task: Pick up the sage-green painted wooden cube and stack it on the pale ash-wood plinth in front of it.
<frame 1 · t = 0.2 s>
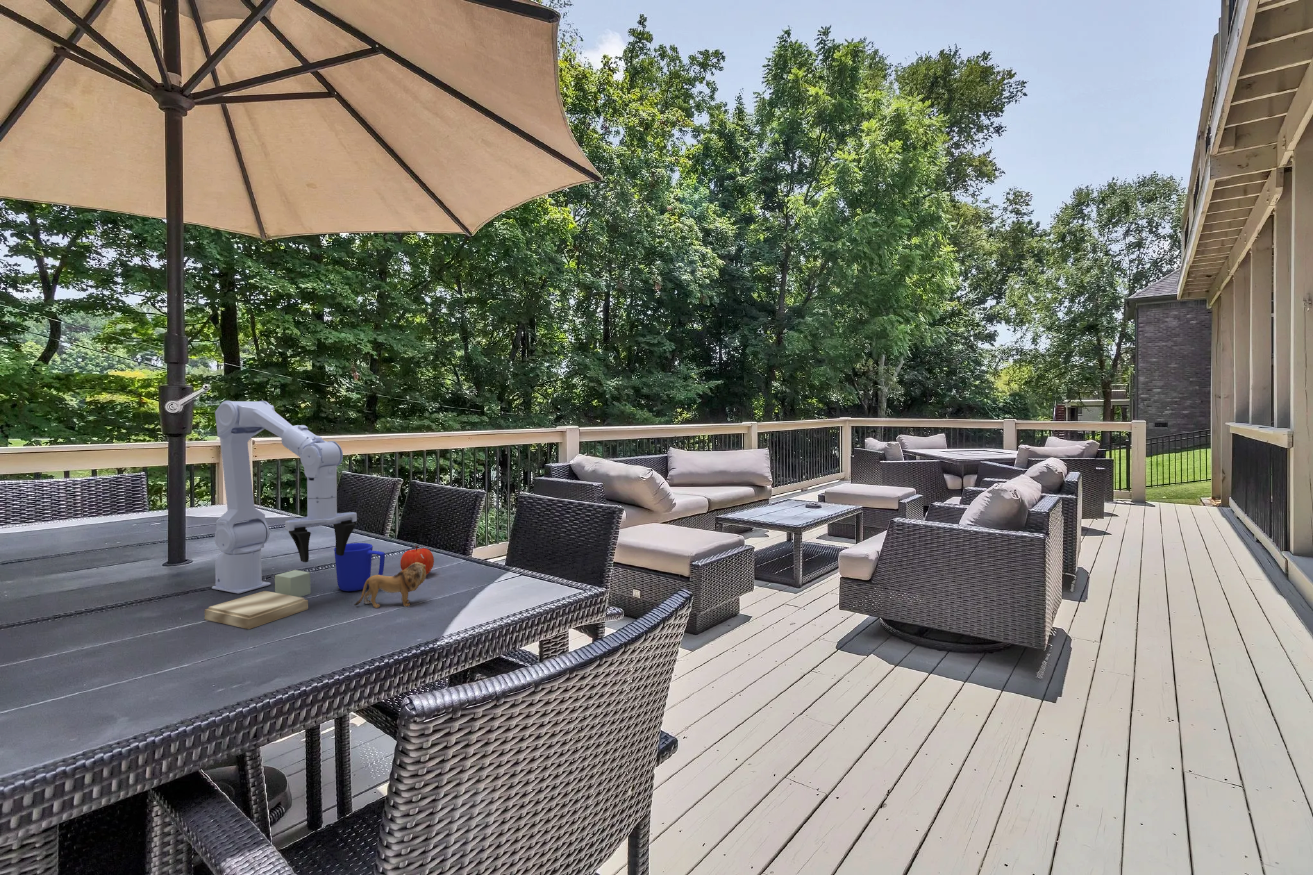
hand: (322, 558, 139), 10 cm above the table, tool pointing down, fingers open, 7 cm apart
sage cube: (292, 595, 144), on the table
lion figurine: (393, 604, 140), on the table
mug: (361, 589, 150), on the table
apple: (417, 576, 161), on the table
plinth: (257, 614, 131), on the table
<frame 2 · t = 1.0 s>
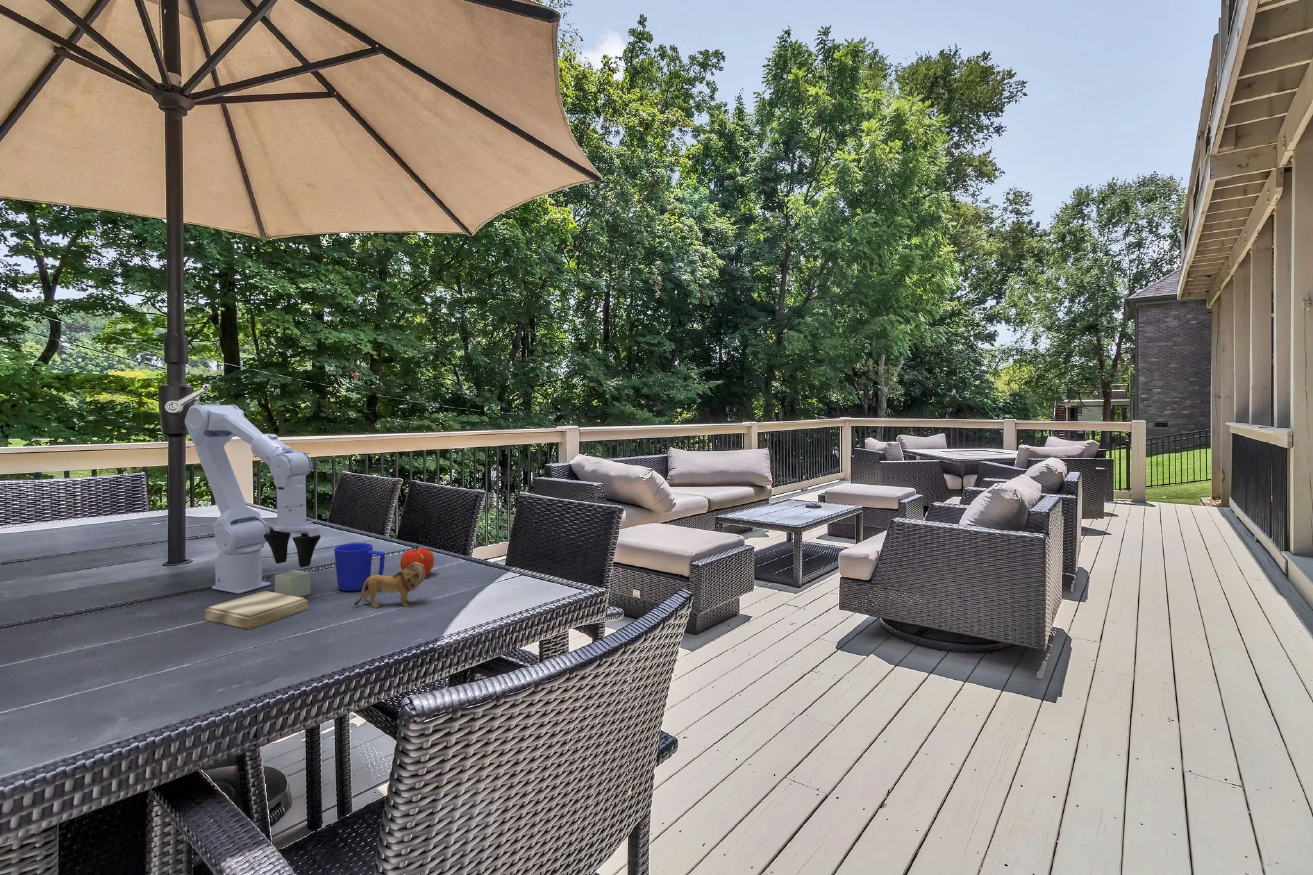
hand: (292, 564, 144), 7 cm above the table, tool pointing down, fingers open, 7 cm apart
nothing on the table moved.
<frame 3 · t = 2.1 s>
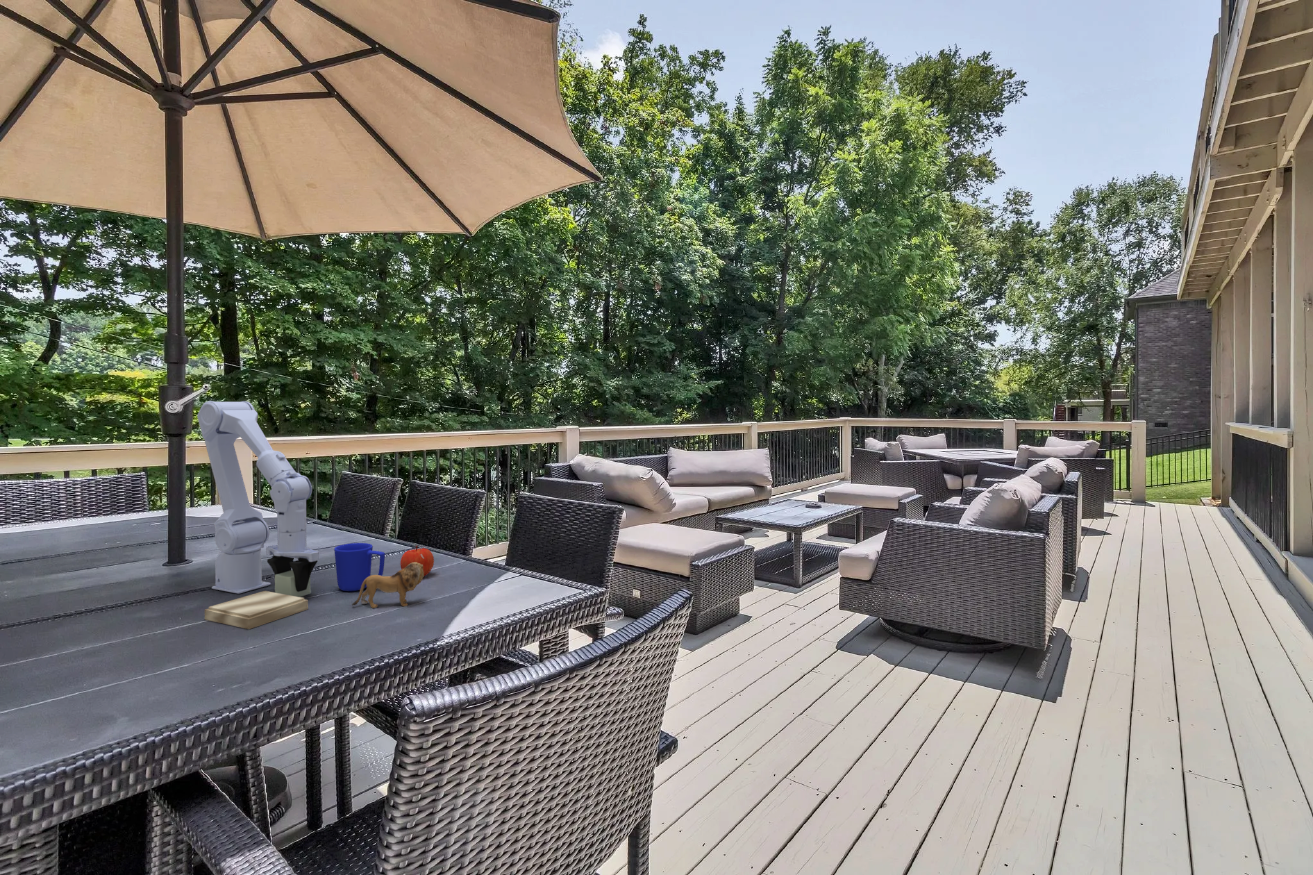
hand: (292, 588, 144), 1 cm above the table, tool pointing down, fingers closed on sage cube, 5 cm apart
sage cube: (292, 594, 144), on the table, touching gripper
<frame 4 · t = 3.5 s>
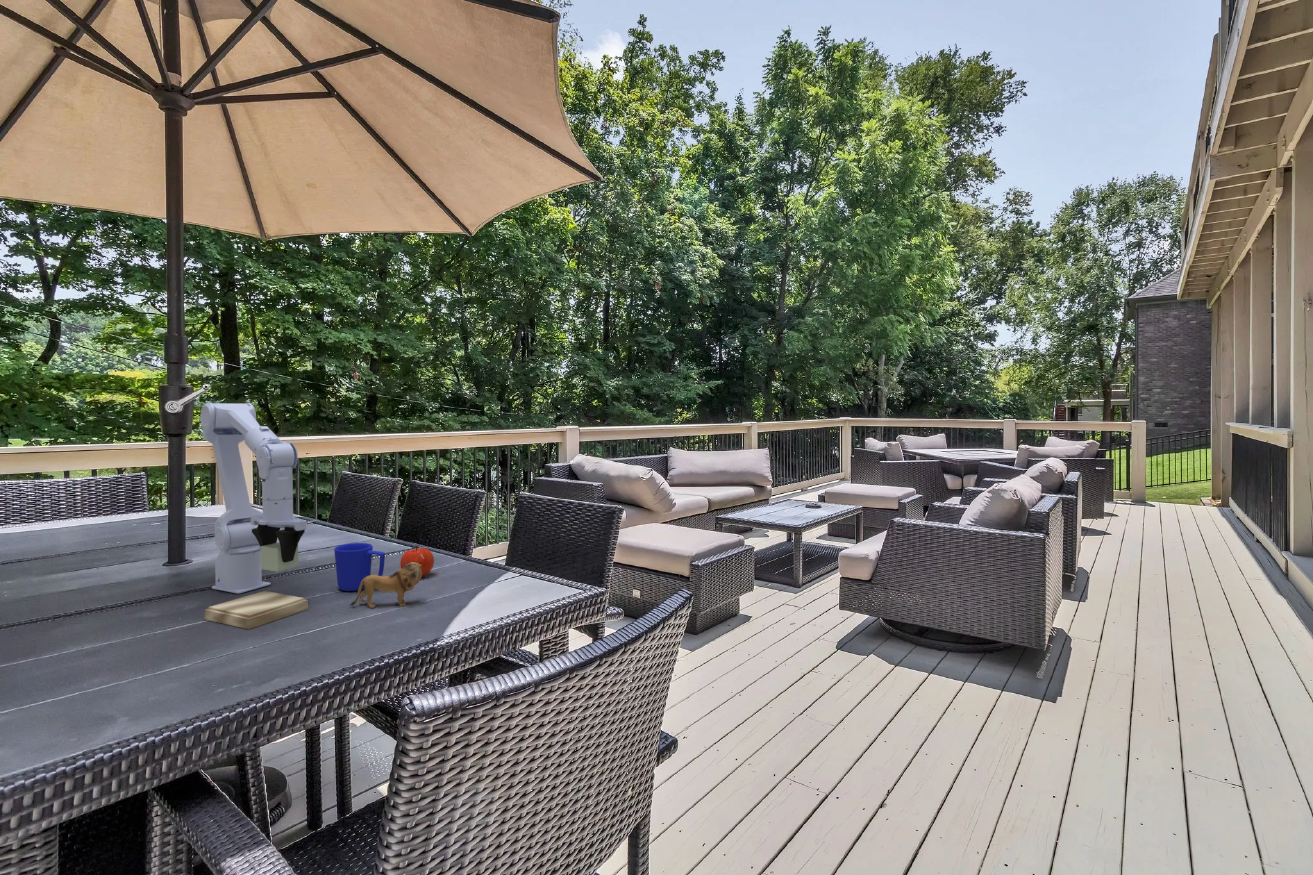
hand: (278, 560, 138), 9 cm above the table, tool pointing down, fingers closed on sage cube, 5 cm apart
sage cube: (279, 567, 138), point 8 cm above the table, touching gripper
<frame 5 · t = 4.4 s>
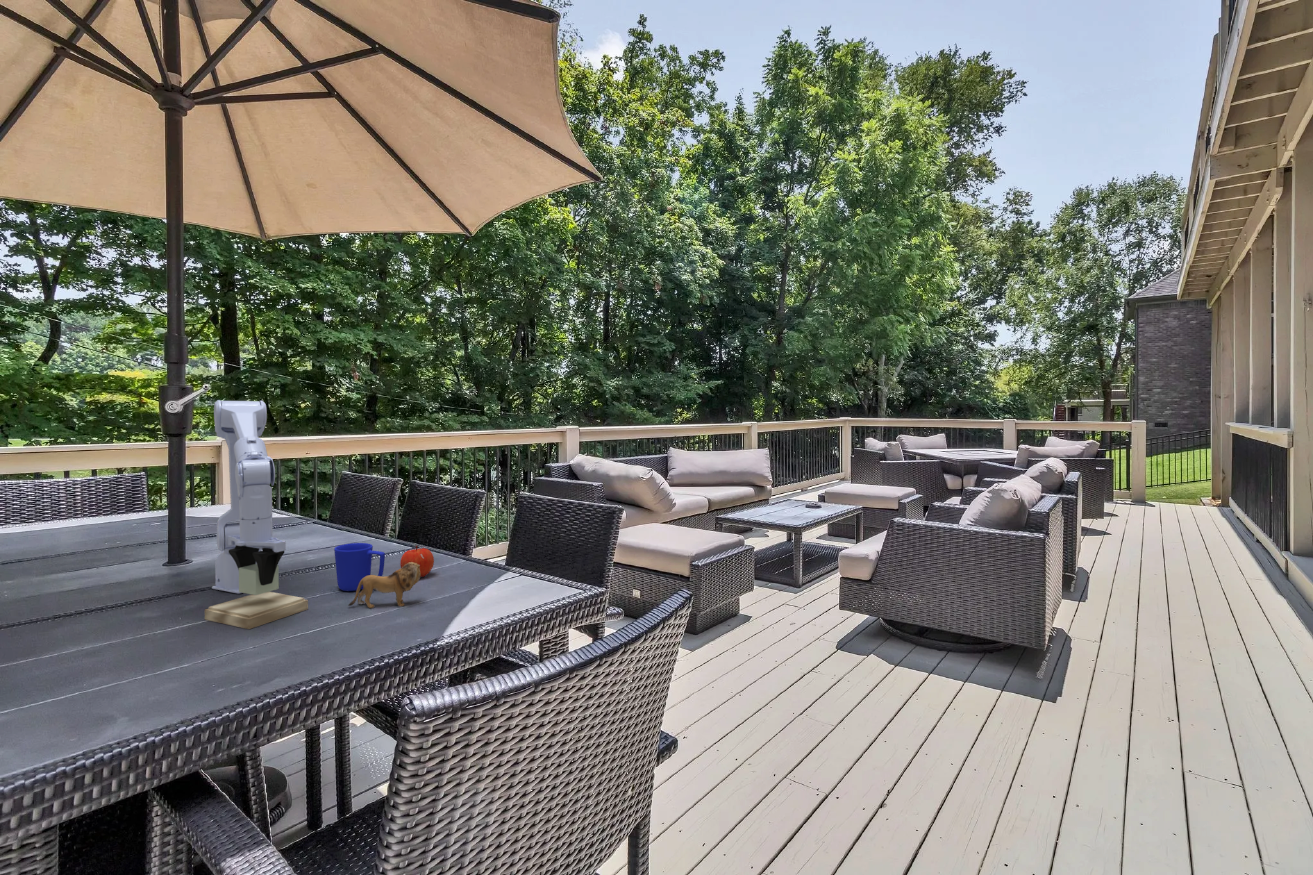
hand: (257, 582, 131), 7 cm above the table, tool pointing down, fingers closed on sage cube, 5 cm apart
sage cube: (259, 590, 131), point 5 cm above the table, touching gripper
when the fingers open (5 cm above the table, at t = 5.2 s): sage cube stays where it is, resting on plinth.
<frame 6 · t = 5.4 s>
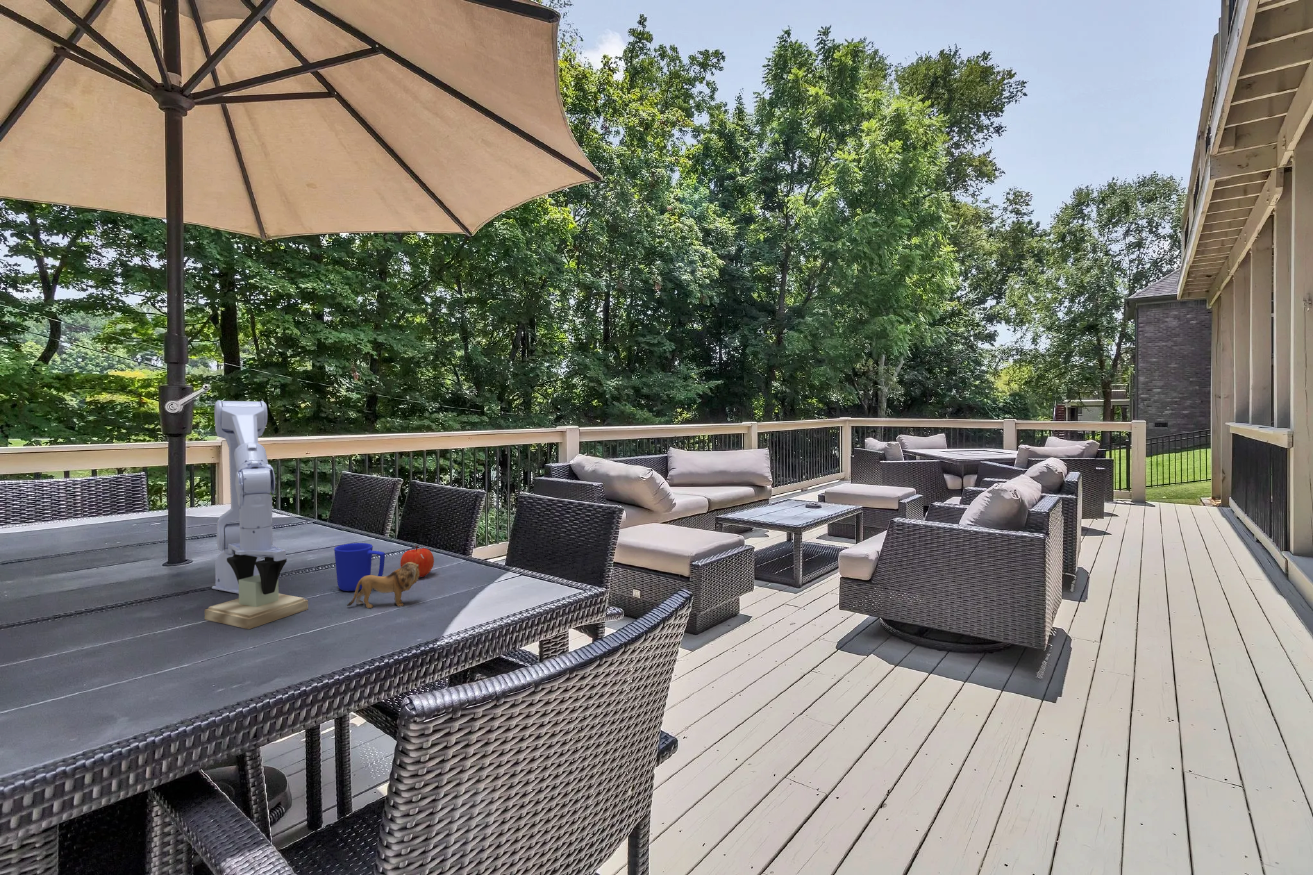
hand: (257, 590, 131), 5 cm above the table, tool pointing down, fingers open, 6 cm apart
sage cube: (259, 601, 131), point 2 cm above the table, touching plinth
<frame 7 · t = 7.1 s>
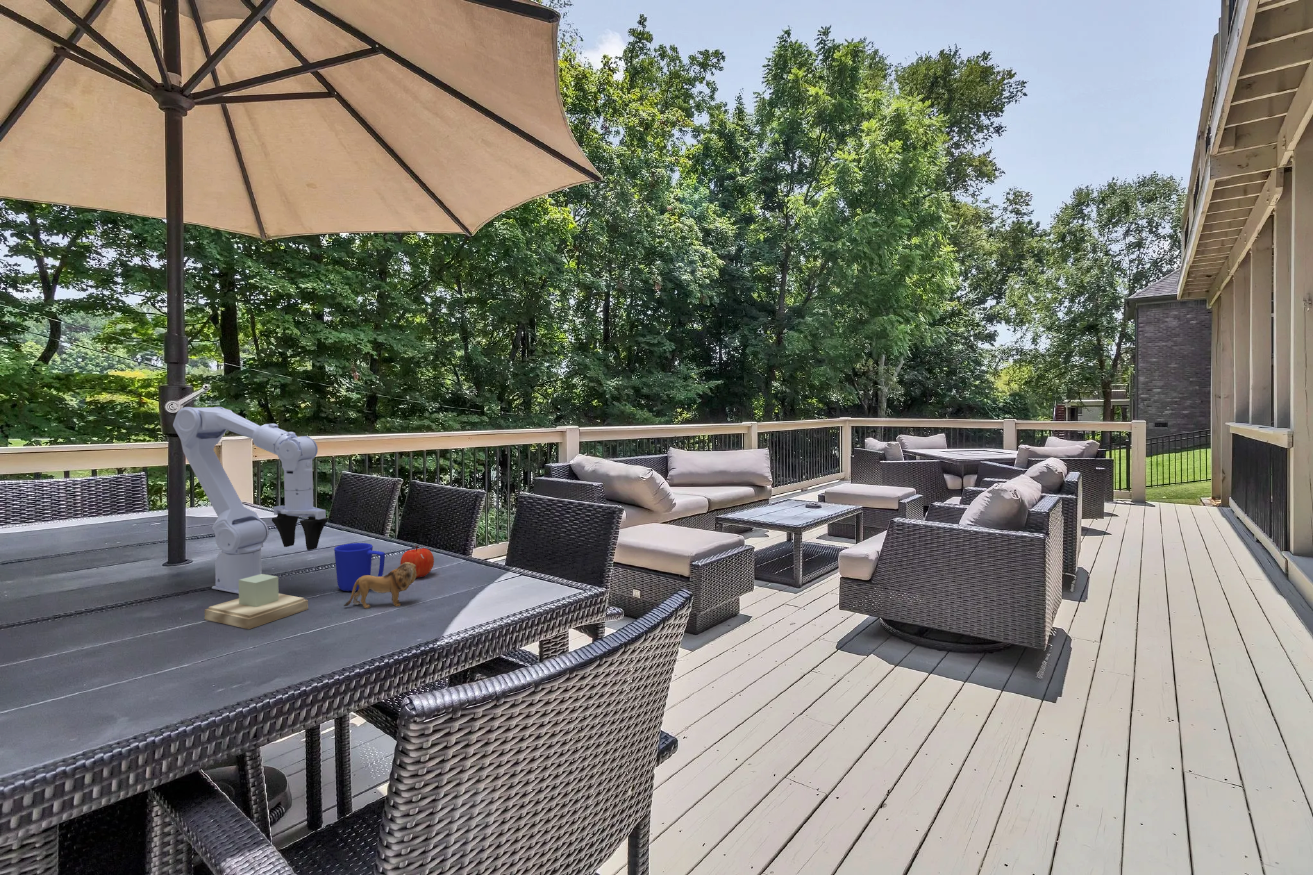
hand: (300, 547, 146), 10 cm above the table, tool pointing down, fingers open, 7 cm apart
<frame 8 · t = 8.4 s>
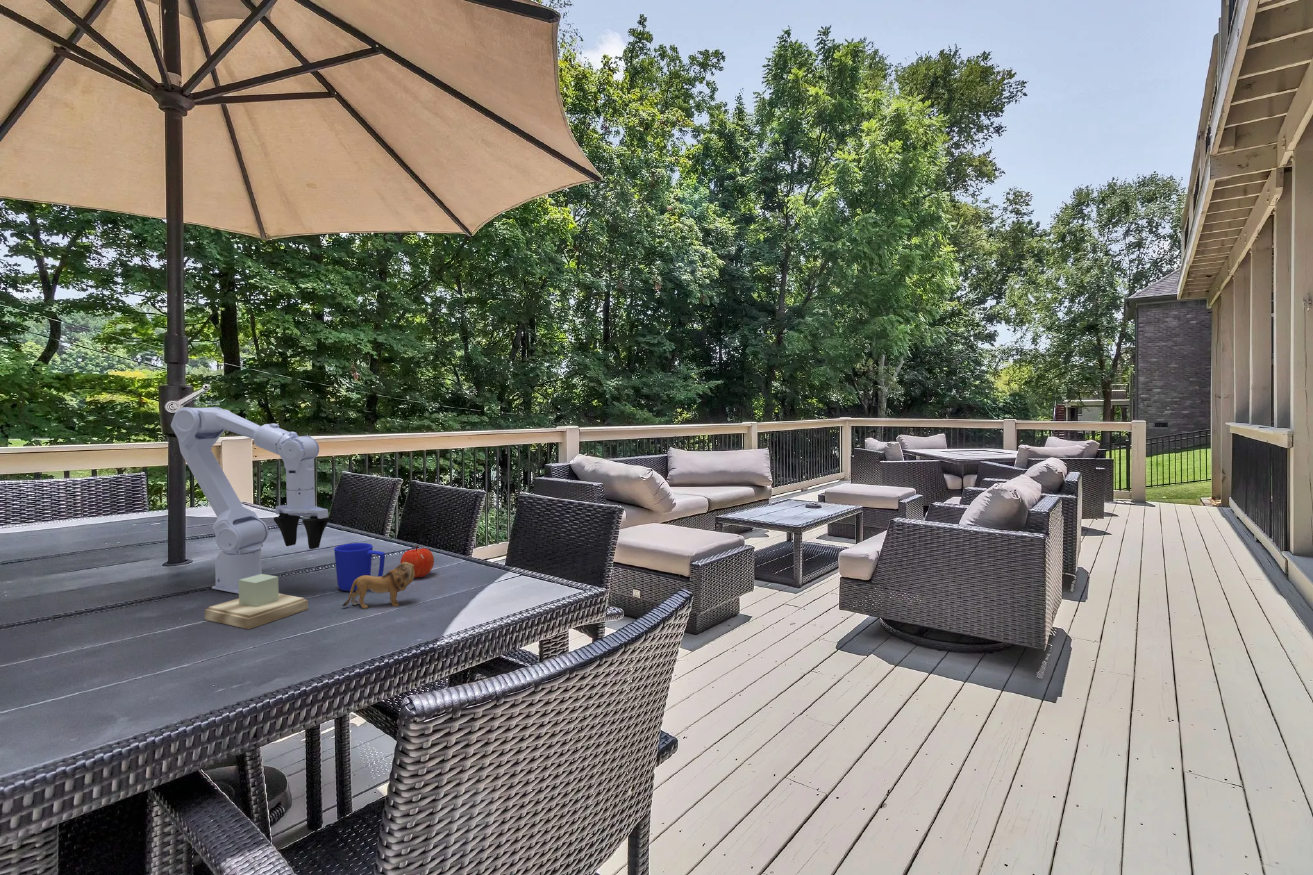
hand: (302, 546, 147), 10 cm above the table, tool pointing down, fingers open, 7 cm apart
at the end: sage cube inside the target area on the plinth (0.3 cm from its centre), point 2.5 cm above the plinth's base; sage cube tilted 0°; the gripper is holding nothing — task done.
